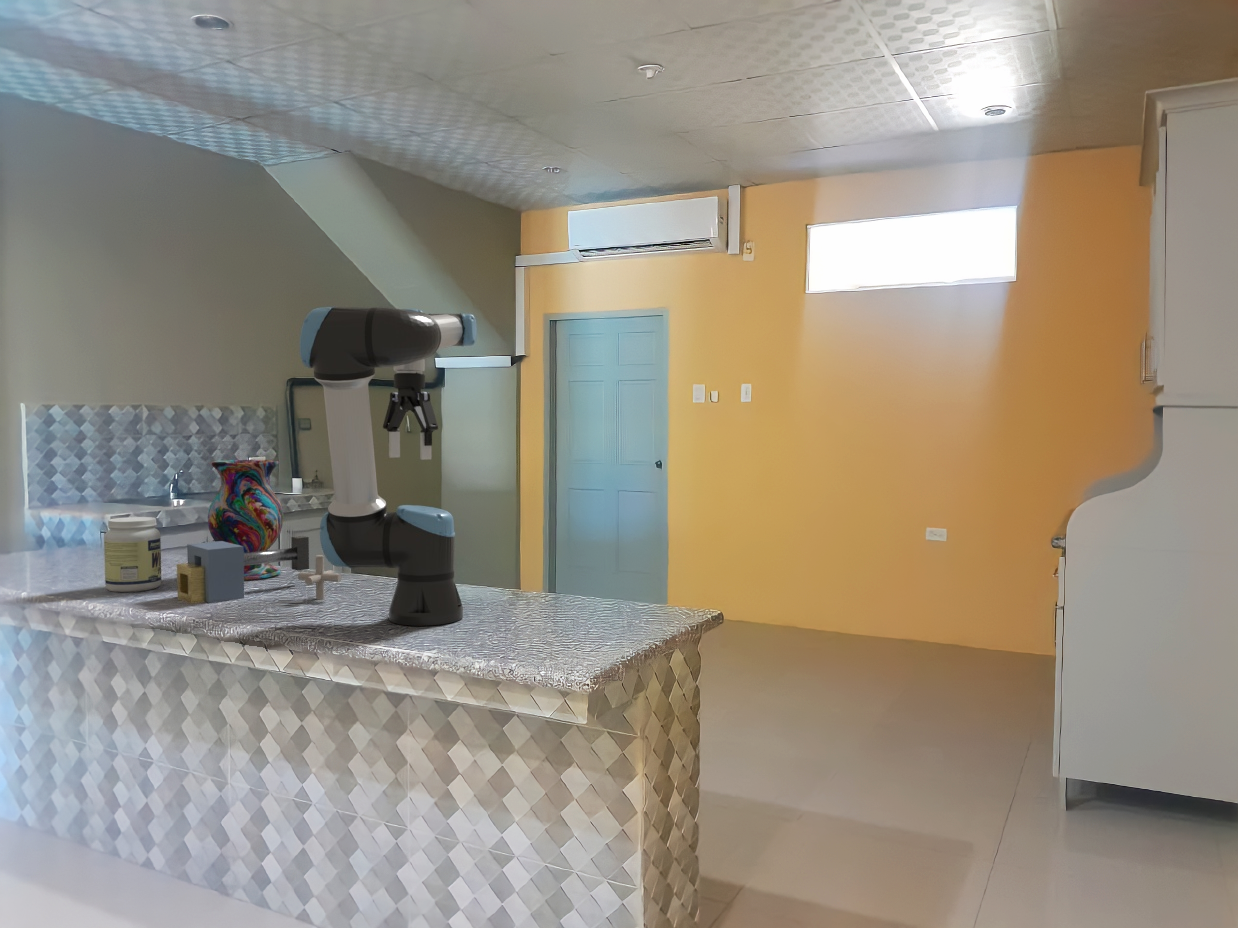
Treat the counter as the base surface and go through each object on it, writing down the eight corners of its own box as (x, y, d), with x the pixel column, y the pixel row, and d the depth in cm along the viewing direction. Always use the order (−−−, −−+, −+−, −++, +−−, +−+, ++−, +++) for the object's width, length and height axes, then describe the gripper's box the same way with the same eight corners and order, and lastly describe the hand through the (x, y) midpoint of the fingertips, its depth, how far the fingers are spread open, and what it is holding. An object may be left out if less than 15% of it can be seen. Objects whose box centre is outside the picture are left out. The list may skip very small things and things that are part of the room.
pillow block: (244, 597, 215) (243, 546, 215) (209, 602, 210) (208, 549, 209) (222, 590, 224) (221, 540, 223) (188, 595, 218) (187, 544, 217)
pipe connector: (329, 604, 209) (328, 559, 208) (288, 602, 211) (287, 558, 210) (350, 595, 219) (350, 553, 218) (311, 593, 221) (311, 551, 220)
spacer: (205, 601, 211) (204, 566, 211) (191, 603, 209) (190, 568, 209) (190, 596, 217) (190, 562, 216) (177, 598, 215) (176, 564, 214)
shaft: (309, 569, 231) (308, 537, 231) (215, 580, 215) (214, 546, 215) (303, 567, 234) (302, 535, 233) (210, 578, 217) (209, 544, 217)
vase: (240, 584, 232) (238, 464, 230) (193, 577, 241) (191, 461, 239) (299, 573, 248) (297, 461, 246) (252, 567, 257) (251, 458, 255)
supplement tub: (159, 591, 223) (158, 520, 222) (101, 594, 219) (99, 522, 218) (163, 582, 234) (162, 515, 233) (108, 585, 230) (107, 517, 229)
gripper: (452, 372, 225) (452, 459, 226) (394, 374, 242) (394, 456, 243) (426, 370, 220) (426, 460, 221) (368, 373, 237) (369, 457, 238)
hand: (409, 458), depth 232 cm, fingers open, 13 cm apart
